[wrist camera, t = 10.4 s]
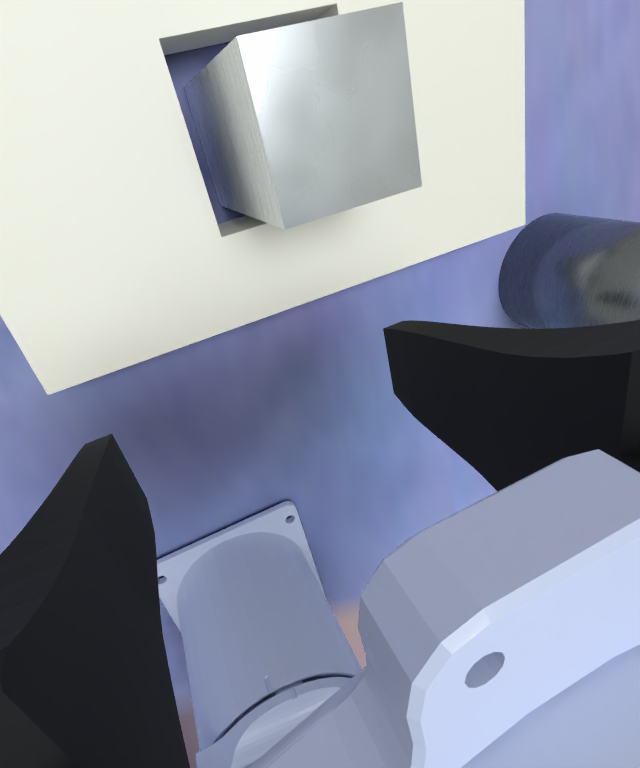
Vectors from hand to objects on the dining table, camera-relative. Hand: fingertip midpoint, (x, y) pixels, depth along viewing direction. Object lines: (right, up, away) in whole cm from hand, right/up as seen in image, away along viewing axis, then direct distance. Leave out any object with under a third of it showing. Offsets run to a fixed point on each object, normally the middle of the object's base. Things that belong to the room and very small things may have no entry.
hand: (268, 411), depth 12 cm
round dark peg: (+14, +7, +14) cm, 21 cm away
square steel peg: (-1, +10, +6) cm, 12 cm away
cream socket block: (-1, +10, +6) cm, 12 cm away
